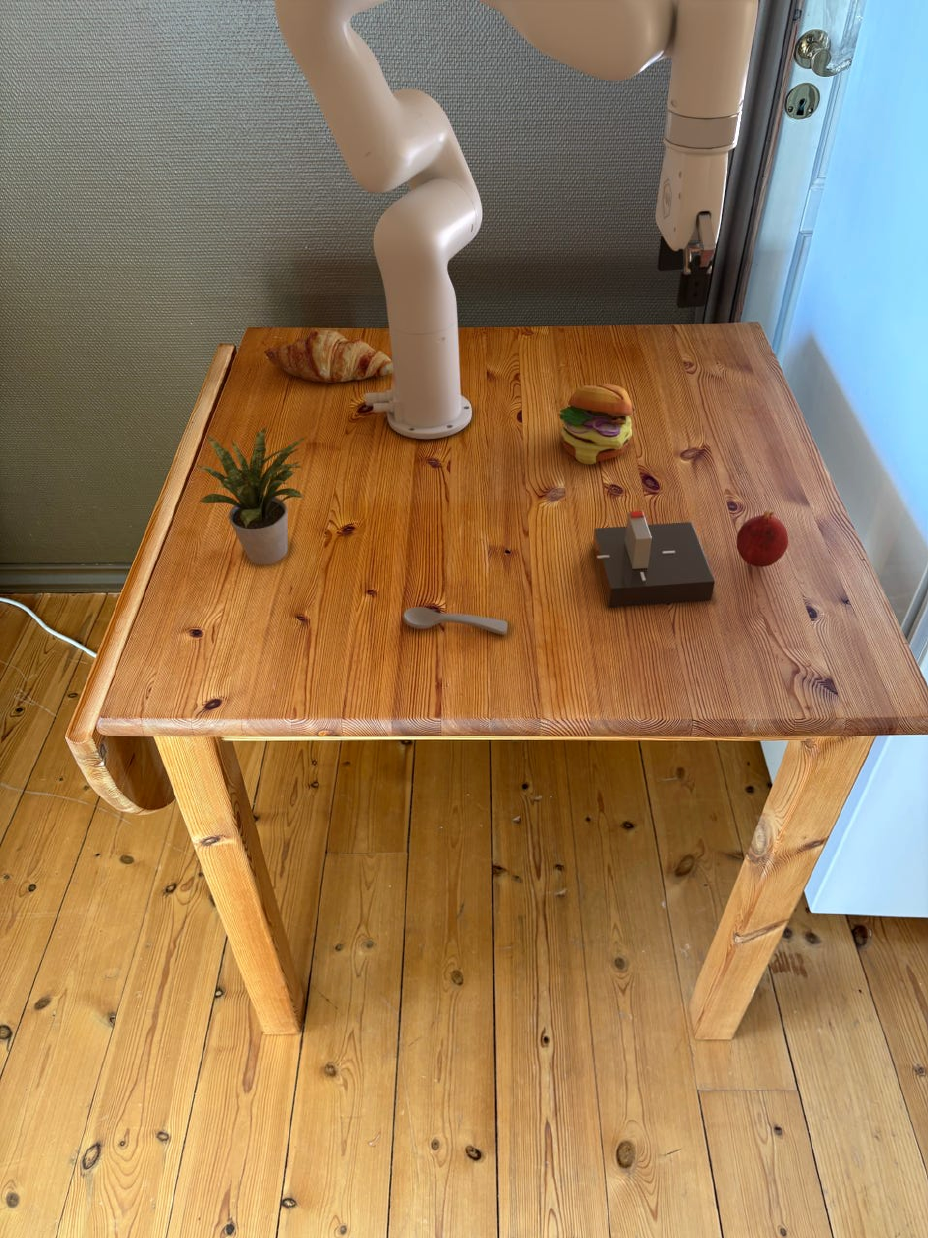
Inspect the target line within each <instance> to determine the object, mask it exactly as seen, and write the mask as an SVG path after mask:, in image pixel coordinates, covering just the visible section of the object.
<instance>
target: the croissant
mask: <svg viewBox="0 0 928 1238" xmlns="http://www.w3.org/2000/svg"><path fill="white" fill-rule="evenodd" d="M266 354H267V355H266V356H267V358H268V360H269V361H270V363H272V364H274V365H276V366H278V367H280V368H282V370H283V371H284V372H286V373H287V374H288V375H291V376H293V377H298V378H301V379H302V380H305V381H310V382H315V383H317V382H321V383H326V384H337V383H344V382H351V381H353V380H355V381H361V380H362V381H363V380H365V379H370V378H372V377H378V378H381V377H384V376H389V375H391V374H393V363H392V359H390V357H389V356H388V355H387V354H385V352H383V351H381V350H377V351H376V350H375V349H374V348H372V347H371V346H370V345H369V344H368V343H367V342H365V341H364V339H362V338H361V339H353V340H349V339H348V338H345V336H344V335H343V334H342V333H340V332H338V331H336V330H334V329H322V328H320V329H316V330H314V329H313V330H312V331H310V334H309V336H308V337H299V338H297V339H296V340H294V343H292V344H291V343H284V344H283V343H282V344H280V345H279V346H277V347H276V348H268V349H267V351H266Z"/></svg>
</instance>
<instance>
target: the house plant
mask: <svg viewBox="0 0 928 1238" xmlns="http://www.w3.org/2000/svg"><path fill="white" fill-rule="evenodd" d="M266 428H267V426H264V427H263V428H262V430H261V431H259V428H258V429H257V430H256V436H255V441H254V446H253V451H252V455H251V458H250V463H249V464H248V462H247V459H246V458H245V456H244V454H243V453H242V452H241V451H240V449H239V447H238V445H237V444H236V443H235V442H234V441H233V440H232V439H230V440H231V441H230V442H231V445H232V447H233V449H234V453H235V455H236V457H237V460H238V463H239V465H240V468H241V469H240V468H238V465H237V464H236V462H235V460H234V458H233V457H232V455H231V454H230V452H229V451H228V450H227V449H226V448H225V447H223V446H222V445H221V444H219V442H218V441H217V440H216V439H214V438H213V437H210V436H209V435H207V439H208V441H209V443H210V445H211V447H212V448H213V450H214V452H215V455H216V456H217V458H218V459H219V461H220V463H221V465H222V467H223V469H224V472H225V474H226V476H225V475H223V474H222V472H220V471H217V470H215V469H214V468H211V467H210V466H206V465H197V467H198V468H199V469H201V470H203V471H206V472H208V474H210V475H211V476H212V477H214V478H215V479H217V480H219V481H220V483H221V485H220V484H218V485H217V487H219V488H222V489H225V490H227V491H229V492H230V493H231V494H232V495H233V496H234V497H235V498H236V500H235V499H234V498H232V497H230V496H228V495H223V494H218V493H210V494H207V495H205V496H203V498H202V499H201V500H200V501H199V502H198V503H204V504H220V503H221V504H229V505H233V506H232V507H231V508H230V511H229V513H228V520H229V523H230V525H231V527H232V529H233V531H234V532H235V535H236V536H237V537H236V538H237V539H238V541H239V543H240V545H241V546H242V549H243V551H244V552H245V553H244V554H246V556H247V559H249V561H250V562H251V563H253V564H256V565H261V566H265V565H266V566H267V565H272V564H275V563H277V562H279V561H281V560H282V559H284V557H286V555H287V553H288V550H289V549H288V548H289V546H288V545H289V543H288V535H289V534H288V532H289V531H288V507H287V504H286V502H284V501H286V500H288V499H291V498H296V499H297V498H298V499H303V500H304V501H306V499H305V498H304V496H303V495H302V493H301V492H300V491H299V490H297V489H295V488H289V487H288V488H281V489H279V487H281V486H282V485H288V483H287V482H286V481H288V479H290V478H291V477H292V476H293V474H295V473H296V471H294V470H293V471H291V470H290V469H300V468H301V469H303V467H302V466H299V465H297V464H299V463H300V461H297V462H293V463H285V461H286V460H287V459H288V458H289V456H290V455H291V454H293V453H295V452H297V451H298V450H299V448H295V447H296V446H297V445H299V444H300V443H302V442H303V441H305V439H306V438H307V436H306V437H303V438H300V439H298V440H296V441H294V442H292V443H291V444H289V445H288V446H286V447H285V448H282V449H279V450H277V451H275V452H273V453H271V454H270V455H268V456H267V457H266V452H267V447H266V441H265V440H266V434H267V429H266ZM275 456H276V458H275V459H274V460H273V461H272V463H271V464H270V465H269V466H268V467H267V468H266V469H265V470H264V469H263V468H264V465H265V464H266V463H267V462H269V460H270V459H272V458H273V457H275ZM265 457H266V458H265ZM283 463H284V464H283ZM263 470H264V472H263ZM278 489H279V490H278ZM280 496H285V497H284V498H283V499H281V498H279V497H280Z"/></svg>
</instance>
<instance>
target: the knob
mask: <svg viewBox="0 0 928 1238" xmlns="http://www.w3.org/2000/svg"><path fill="white" fill-rule="evenodd" d="M626 517H627V518H626V526H625V527H626V534H625V545H626V548H627V551H628V555H629V558H630V562H631V565H632V568H633V569H639V568H648V562H649V555H650V547H651V540H652V537H651V534H650V531H649V528H648V525H649V524H648V522H647V520H646V517H645V514H644V511H643V510H631V511H628V512H627V516H626Z"/></svg>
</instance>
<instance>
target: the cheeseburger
mask: <svg viewBox="0 0 928 1238" xmlns="http://www.w3.org/2000/svg"><path fill="white" fill-rule="evenodd" d="M567 405H568V406H567V407H565V408H563V409H560V411H559V413H558V416H559V419H560V421H561V426H562V427H561V434H562V435H561V443H562V446H563V448H564V450H565V451H567V453H568V454H570V455H571V456H573V458H575V459H576V461H578V462H579V463H581V464H583V465H594V464H596V463H597V462H600V461H607V460H609V459H612V458H615V457H619V456H621V454H623V453H624V452H625V451H627V448H628V445H629V441H630V439H631V438H632V436H633V429H632V425H633V423H632V419H631V417H630V416H631V415H633V414H634V413H635V412H636V409H635V408H634V407H633V404H632V401H631V398H630V396H629V394H628V391H626V390H625V389H624V388H623V387H622V386H620V385H616V384H612V383H611V384H610V383H599V384H595V385H590V384H586V385H581V386H580V387H579V388H577V389H576V390H575V391H574V392H573V393H572V394H571V396H570V398H569V400H568V401H567Z"/></svg>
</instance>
